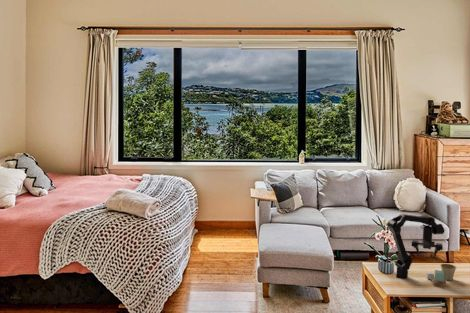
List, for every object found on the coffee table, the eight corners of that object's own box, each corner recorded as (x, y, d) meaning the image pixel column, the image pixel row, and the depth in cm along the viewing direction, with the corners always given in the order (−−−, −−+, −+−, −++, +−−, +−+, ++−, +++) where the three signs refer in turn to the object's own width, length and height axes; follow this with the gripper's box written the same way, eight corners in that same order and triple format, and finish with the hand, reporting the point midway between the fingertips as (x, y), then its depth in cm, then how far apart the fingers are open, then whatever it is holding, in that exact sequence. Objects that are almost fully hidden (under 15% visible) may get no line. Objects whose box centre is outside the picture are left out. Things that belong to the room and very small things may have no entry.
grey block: (427, 279, 280) (427, 273, 280) (425, 277, 284) (425, 271, 284) (433, 280, 280) (434, 274, 279) (431, 277, 284) (431, 271, 283)
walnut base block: (433, 286, 270) (434, 281, 270) (431, 282, 277) (432, 276, 277) (446, 287, 268) (446, 282, 268) (443, 283, 275) (443, 278, 275)
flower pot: (456, 278, 283) (457, 265, 282) (454, 283, 275) (455, 269, 274) (440, 275, 288) (441, 262, 287) (438, 279, 280) (439, 266, 279)
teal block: (434, 280, 271) (435, 272, 271) (434, 277, 276) (435, 269, 275) (443, 281, 269) (444, 274, 269) (443, 278, 274) (443, 271, 273)
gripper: (412, 236, 281) (410, 259, 283) (443, 240, 274) (442, 263, 275) (412, 231, 291) (410, 254, 293) (443, 235, 284) (441, 258, 286)
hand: (426, 257), depth 286 cm, fingers open, 9 cm apart
